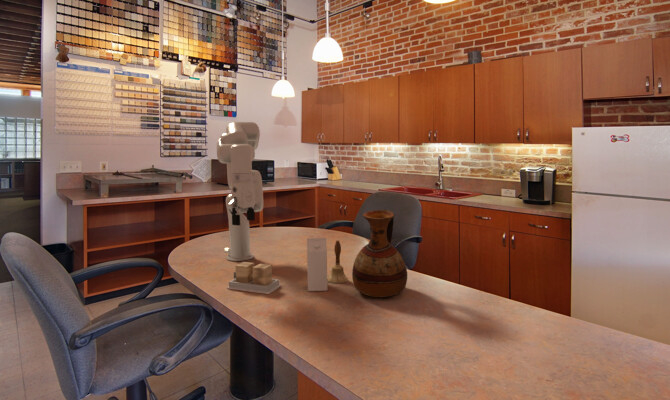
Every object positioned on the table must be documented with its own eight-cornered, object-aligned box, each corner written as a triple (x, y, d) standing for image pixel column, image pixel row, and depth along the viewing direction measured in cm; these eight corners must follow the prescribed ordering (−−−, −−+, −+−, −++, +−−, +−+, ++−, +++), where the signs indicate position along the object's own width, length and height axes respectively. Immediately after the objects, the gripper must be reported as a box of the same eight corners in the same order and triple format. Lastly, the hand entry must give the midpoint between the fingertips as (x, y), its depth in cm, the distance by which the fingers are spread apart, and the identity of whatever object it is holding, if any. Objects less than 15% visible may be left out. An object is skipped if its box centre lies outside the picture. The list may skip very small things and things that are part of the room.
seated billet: (253, 288, 147) (252, 267, 146) (260, 284, 151) (260, 263, 150) (265, 289, 145) (264, 268, 144) (272, 285, 149) (271, 264, 148)
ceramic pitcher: (344, 298, 137) (343, 213, 134) (361, 280, 156) (361, 205, 152) (400, 305, 131) (401, 215, 127) (411, 285, 149) (412, 207, 145)
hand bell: (350, 277, 159) (350, 239, 157) (344, 284, 151) (344, 243, 149) (331, 276, 162) (330, 237, 160) (324, 282, 154) (323, 242, 152)
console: (234, 279, 158) (233, 272, 158) (241, 276, 163) (240, 269, 163) (244, 281, 157) (244, 273, 156) (251, 277, 161) (251, 270, 161)
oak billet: (247, 287, 148) (246, 266, 147) (236, 285, 149) (235, 265, 148) (254, 283, 152) (254, 262, 151) (243, 281, 154) (242, 261, 153)
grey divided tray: (227, 288, 148) (226, 281, 148) (240, 281, 157) (240, 274, 156) (269, 294, 142) (268, 287, 142) (281, 286, 150) (280, 279, 150)
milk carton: (307, 285, 151) (306, 236, 149) (326, 284, 152) (325, 235, 149) (308, 291, 144) (306, 240, 142) (327, 290, 145) (326, 240, 142)
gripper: (236, 180, 139) (239, 228, 141) (262, 176, 155) (264, 219, 157) (219, 179, 141) (221, 226, 144) (246, 175, 157) (248, 217, 160)
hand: (243, 222), depth 151 cm, fingers open, 9 cm apart
